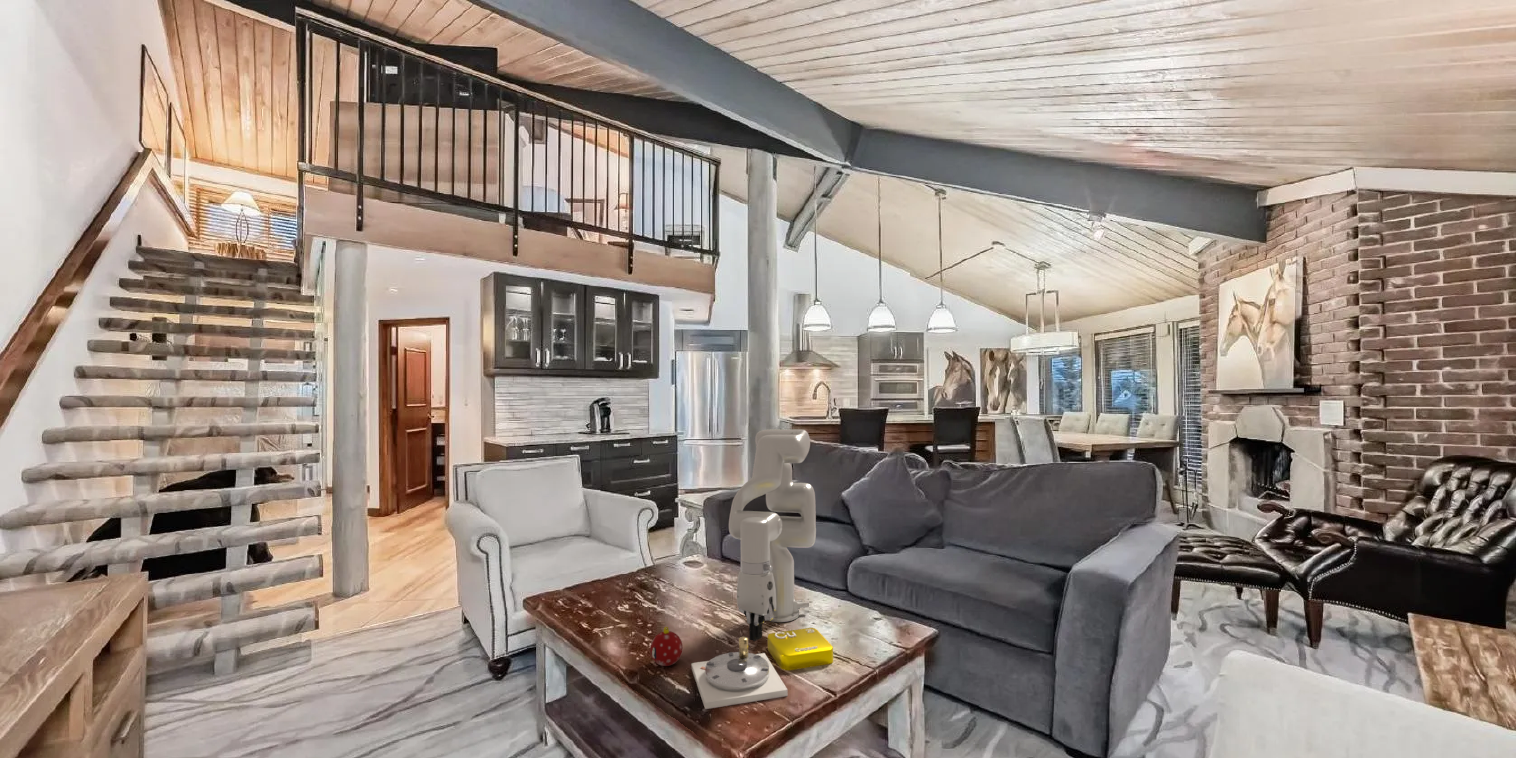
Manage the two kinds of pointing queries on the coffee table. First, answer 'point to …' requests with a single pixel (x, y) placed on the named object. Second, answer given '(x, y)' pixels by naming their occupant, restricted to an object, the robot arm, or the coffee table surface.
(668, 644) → the christmas ornament
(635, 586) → the coffee table surface
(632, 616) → the coffee table surface
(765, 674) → the rotary dial
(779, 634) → the element tile
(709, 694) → the base plate
